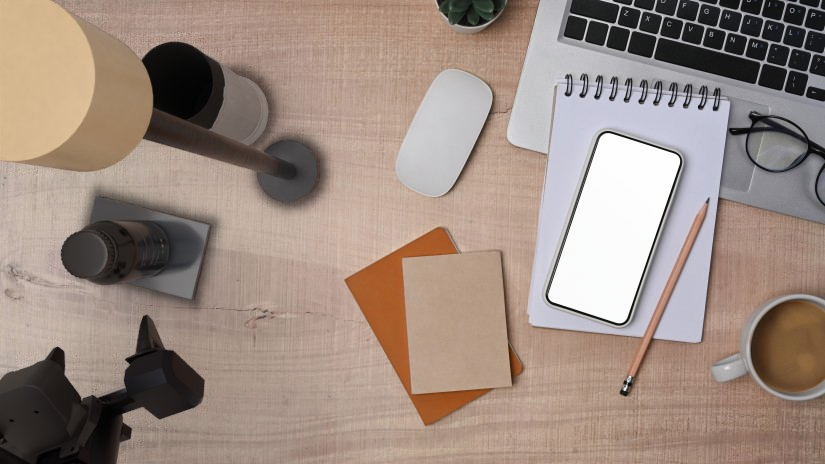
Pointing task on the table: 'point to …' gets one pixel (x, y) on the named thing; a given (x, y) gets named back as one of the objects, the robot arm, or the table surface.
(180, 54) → the glass holder
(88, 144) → the desk lamp
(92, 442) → the robot arm
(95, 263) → the supplement bottle
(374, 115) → the table surface
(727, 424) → the table surface
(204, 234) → the slate tile
